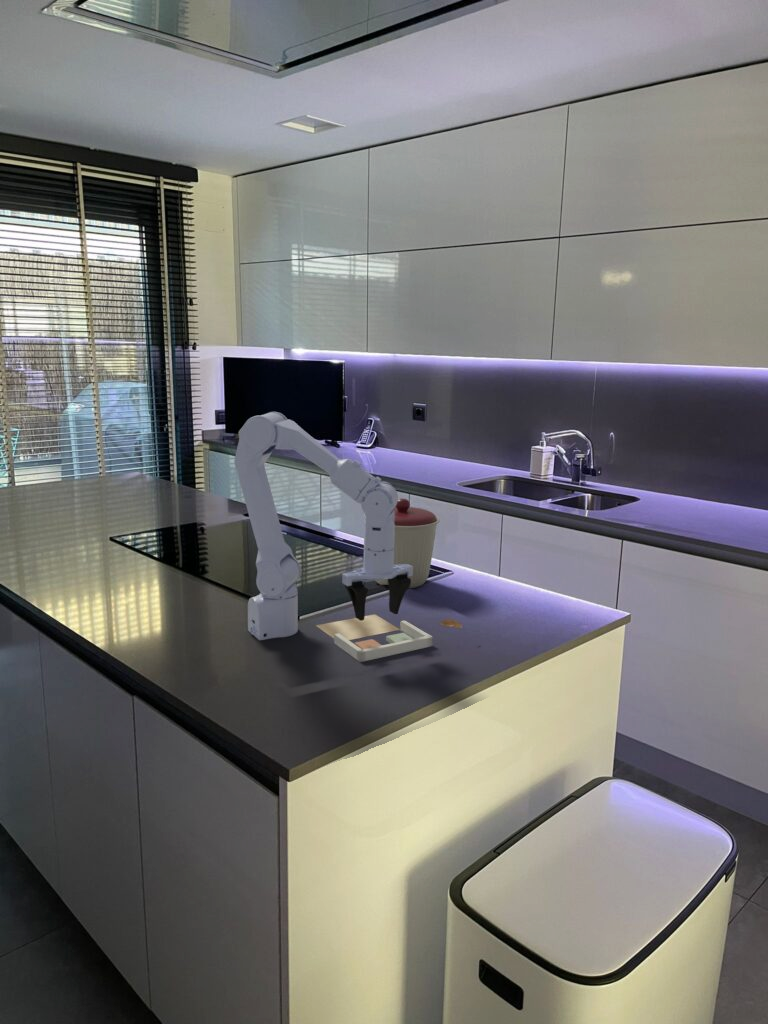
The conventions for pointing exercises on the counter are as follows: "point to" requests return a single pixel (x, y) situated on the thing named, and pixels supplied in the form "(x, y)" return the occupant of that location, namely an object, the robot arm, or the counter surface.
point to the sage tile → (397, 638)
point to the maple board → (358, 627)
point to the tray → (361, 655)
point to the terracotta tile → (367, 644)
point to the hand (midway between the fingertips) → (376, 615)
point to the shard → (450, 623)
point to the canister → (413, 540)
